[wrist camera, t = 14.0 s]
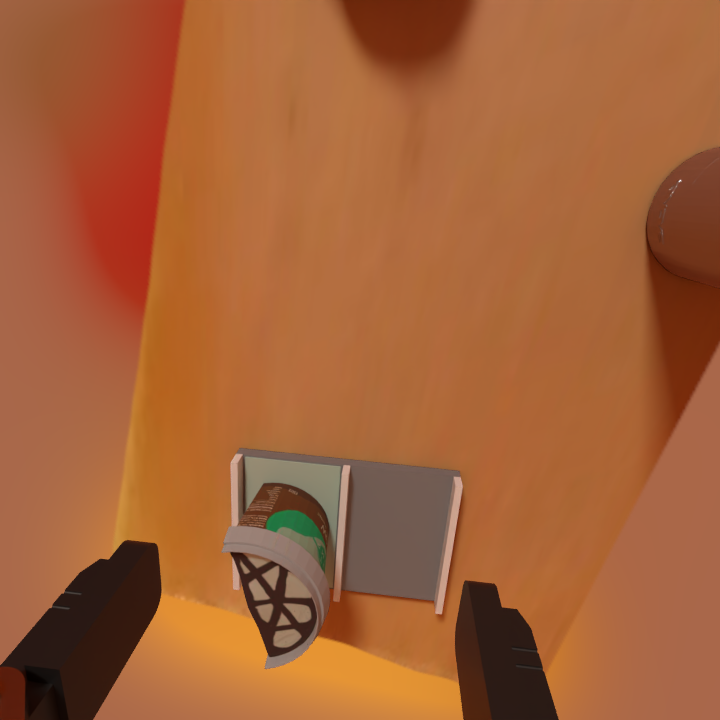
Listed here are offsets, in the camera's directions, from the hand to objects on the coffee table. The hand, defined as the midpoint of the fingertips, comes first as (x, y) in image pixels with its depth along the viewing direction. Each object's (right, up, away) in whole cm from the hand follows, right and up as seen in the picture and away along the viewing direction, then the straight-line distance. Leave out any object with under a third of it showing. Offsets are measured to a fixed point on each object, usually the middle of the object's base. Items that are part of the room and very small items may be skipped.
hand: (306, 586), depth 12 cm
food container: (-3, -9, +32) cm, 34 cm away
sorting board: (0, -10, +33) cm, 35 cm away
